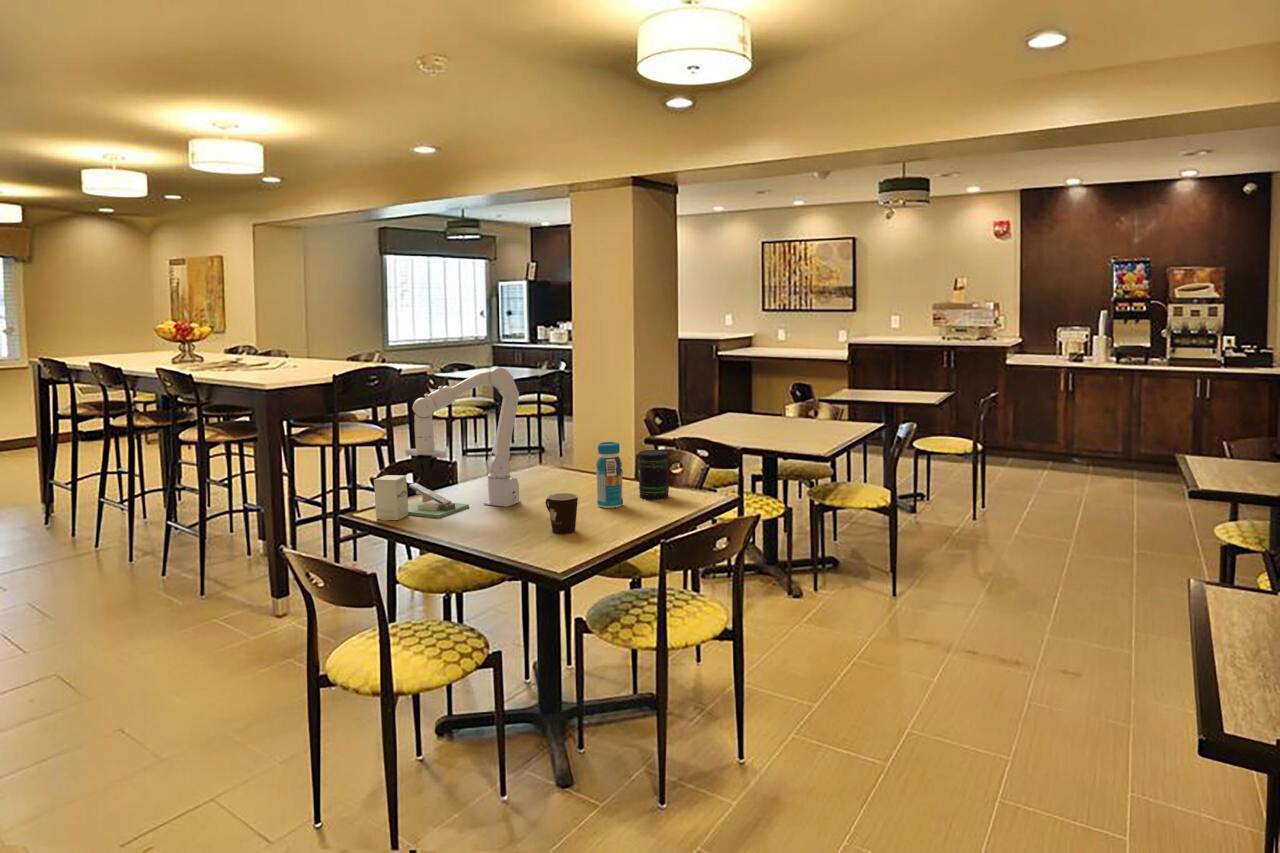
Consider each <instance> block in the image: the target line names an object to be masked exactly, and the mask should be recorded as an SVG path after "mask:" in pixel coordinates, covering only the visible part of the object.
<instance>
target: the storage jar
mask: <svg viewBox="0 0 1280 853" xmlns="http://www.w3.org/2000/svg"><path fill="white" fill-rule="evenodd" d="M638 470H639V481H638V490H639V499H641V498H642V499H641V500H644V499H646V500H645V501H663V500H666V498H667V499H669V497H670V496H669V491H670V485H669V484H670V483H669V478H668V476H669V475H668V474H669V471H668V470H669V451H668V450H663V449H646V450H645V449H644V450H642V451H638ZM662 499H663V500H662Z"/></svg>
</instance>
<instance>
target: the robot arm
mask: <svg viewBox="0 0 1280 853" xmlns="http://www.w3.org/2000/svg"><path fill="white" fill-rule="evenodd" d="M479 386H483V387H484V386H485V387H490V386H492V387H493V388H495V389H496V390H497V391H498V393H499V394H500V395H501V397H502V402H501V407H500V414H499V418H498V423H497V429H496V434H495V438H494V444H493V447H492V450H491V452H490V455H489V457H488V458H487V460H486V468H487V469H488V470H489V473H488V474H487V489H488V490H487V491H488V492H487V493H488V500H487V501H485V502H483V503H482V504H483V505H486V506H487V505H489V506H496V507H506V508H507V507H510V506H513V505H516V504H518V503H520V502H521V499H520V485H519V484H520V483H519V480H518V479H517V478H516V477H512V476H511V473H510V472H511V467H512V466H511V463H510V458H511V452H510V447H511V444H512V443H511V442H512V438H513V437H512V436H513V431H514V425H515V420H516V416H517V415H516V414H517V411H518V404H519V400H520V392H519V390H518V386H517V384H516V383H515V380H514V376H513V375H512V374H511V373H510V372H509V370H507V369H506V368H503V367H501V366H498V365H495V366H491V367H490V368H487V369H483V370H481V371H479V372H477V373H475V374H473V375H471V376H470V377H467V378H466V379H463V380H462V381H460V382H458V383H457V384H455V385H453V386H449V385H440V386H438V387H437V388H438V389H436V390H434V391H432V392H431V393H429V394H428V393H424V395H423V396H424V397H419V398H417V399H414V400H415V401H414V402H413V404H412V407H411V409H412V411H413V413H414V416H413V417H414V418H413V419H414V425H413V426H414V437H415V438H414V440H415V441H414V442H415V448H406V449H405V450H404V452H405V453H404V454H405V456H406V457H407V456H408V457H409V456H415V457H416V458H414V461H415V462H414V463H416V465H417V466H418V468H419V471H420V473H421V477H422V480H423V481H424V480H425V481H427V480H431V479H432V474H433V470H434V465H435V464H436V462H437V460H438V458H439V459H445V458H447V451H446V450H441V449H436V448H435V430H434V428H435V427H434V420H433V413H434V412H437V411H440V410H442V409H443V408H445V407H447V406H449V405H452V404H453V403H454V402H455V401H456V398H457V396H460V395H462V394H465V393H466V392H468V391H469V392H470V390H473V389H475V388H478V387H479Z"/></svg>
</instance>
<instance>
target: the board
mask: <svg viewBox="0 0 1280 853" xmlns="http://www.w3.org/2000/svg"><path fill="white" fill-rule="evenodd" d="M468 507H469V508H470V504H469V503H460V502H451V503H449V504H446V505H442V504H440V503H438V502H436V501H434V500H430V501H427V502H423V501H422V500H420V501H416V502H413V503H410V504H408V515H407V516H413V515H415V516H414V517H422V516H425V517H424V518H431V517H436V518H435V519H441V518H444V517H446V516H445V515H447V516H449V514H450V515H452V514H455V513H457V511H458V512H460V510H461V511H463V509H464V510H465V508H466V509H469V508H468ZM443 516H444V517H443ZM440 517H441V518H440Z"/></svg>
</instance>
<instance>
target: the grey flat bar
mask: <svg viewBox="0 0 1280 853" xmlns="http://www.w3.org/2000/svg"><path fill="white" fill-rule="evenodd" d="M408 487H409V488H410V489H412V490H413V491H415V492H417V491H418V492H419V493H421V494H423V495H425V496H427V497H429V498H431V499H433V500H434V501H436V502H438V503H440V504H442V505H446V504H449V503H452V501H451V500H449V499H447V498H446V497H444V496H442V495H440V494H438V493H436V492H435V491H433V490H432V491H430V490H431V489H428V488H426V487H424V486H422V484H421V485H420V484H419V483H418V482H414V483H411V484H409V486H408Z"/></svg>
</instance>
